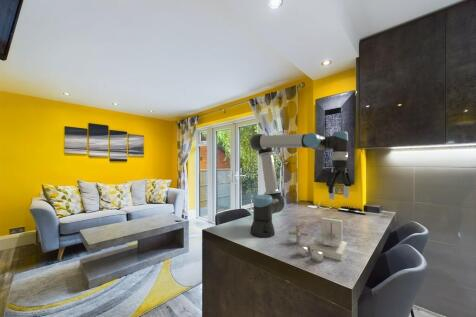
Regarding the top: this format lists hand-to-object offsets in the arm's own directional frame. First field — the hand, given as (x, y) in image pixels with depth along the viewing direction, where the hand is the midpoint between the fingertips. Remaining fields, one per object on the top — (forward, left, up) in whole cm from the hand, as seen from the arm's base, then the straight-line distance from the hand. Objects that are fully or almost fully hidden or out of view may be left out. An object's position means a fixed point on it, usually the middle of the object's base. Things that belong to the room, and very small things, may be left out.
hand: (339, 198), depth 110 cm
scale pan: (-3, -12, -20) cm, 24 cm away
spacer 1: (-12, -25, -25) cm, 37 cm away
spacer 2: (-5, -26, -25) cm, 36 cm away
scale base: (-3, -11, -25) cm, 28 cm away
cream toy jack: (-19, -11, -25) cm, 33 cm away
